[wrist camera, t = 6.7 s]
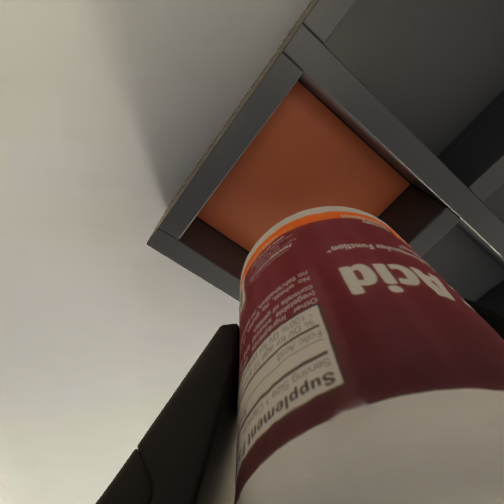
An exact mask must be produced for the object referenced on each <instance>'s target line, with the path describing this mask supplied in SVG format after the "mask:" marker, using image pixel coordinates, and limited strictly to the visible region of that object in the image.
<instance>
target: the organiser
mask: <svg viewBox="0 0 504 504" xmlns="http://www.w3.org/2000/svg"><path fill="white" fill-rule="evenodd" d="M325 206H343V207H349V208H354V209H358V210H361V211H364V212H367V213H369V214H371V215H373V216H375V217H377V218H378V219H380V220H382V221H383V222H385V223H386V224H387V225H388V226H389V227H390V228H392V229H393V230H394V231H395V232H396V233H397V234H398V235H399V236H400V237H401V238H402V239H403V240H404V241H405V242H406V243H407V244H408V245H409V246H410V247H411V248H412V249H413V250H414V251H415V252H416V253H417V254H418V255H419V256H420V257H421V258H422V259H423V260H424V261H426V262H427V263H428V264H429V265H430V267H431V268H433V269H434V270H435V272H436V273H437V274H438V275H439V276H440V277H442V278H443V279H444V280H445V281H446V282H447V283H448V285H449V286H451V287H452V288H453V289H454V290H455V291H456V292H457V293H459V295H460V296H461V297H463V298H466V299H468V300H471V301H473V302H475V303H478V304H480V305H482V306H485V307H487V308H489V309H492V310H494V311H496V312H499V313H501V314H503V315H504V0H312V1H311V3H310V4H309V6H308V7H307V9H306V10H305V11H304V13H303V14H302V16H301V17H300V19H299V20H298V21H297V23H296V24H295V26H294V27H293V29H292V30H291V31H290V33H289V34H288V36H287V37H286V39H285V40H284V42H283V43H282V44H281V46H280V47H279V49H278V50H277V52H276V53H275V54H274V56H273V57H272V59H271V60H270V62H269V63H268V65H267V66H266V67H265V69H264V70H263V72H262V73H261V75H260V76H259V77H258V79H257V80H256V82H255V83H254V85H253V86H252V88H251V89H250V90H249V92H248V93H247V95H246V96H245V98H244V99H243V100H242V102H241V103H240V105H239V106H238V108H237V109H236V110H235V112H234V113H233V115H232V116H231V118H230V119H229V121H228V122H227V123H226V125H225V126H224V128H223V129H222V131H221V132H220V133H219V135H218V136H217V138H216V139H215V141H214V142H213V144H212V145H211V146H210V148H209V149H208V151H207V152H206V154H205V155H204V156H203V158H202V159H201V161H200V162H199V164H198V165H197V167H196V168H195V169H194V171H193V172H192V174H191V175H190V177H189V178H188V179H187V181H186V182H185V184H184V185H183V187H182V188H181V189H180V191H179V192H178V194H177V195H176V197H175V198H174V200H173V201H172V202H171V204H170V205H169V207H168V208H167V210H166V211H165V213H164V215H163V216H162V218H161V220H160V221H159V223H158V225H157V227H156V228H155V230H154V232H153V234H152V235H151V237H150V239H149V240H148V242H147V245H148V246H150V247H152V248H153V249H155V250H157V251H158V252H160V253H162V254H163V255H165V256H166V257H168V258H170V259H171V260H173V261H175V262H176V263H178V264H179V265H181V266H183V267H184V268H186V269H188V270H189V271H191V272H192V273H194V274H196V275H197V276H199V277H201V278H202V279H204V280H206V281H207V282H209V283H210V284H212V285H214V286H215V287H217V288H219V289H220V290H222V291H223V292H225V293H227V294H228V295H230V296H232V297H233V298H235V299H236V300H238V301H240V281H241V275H242V270H243V267H244V263H245V261H246V258H247V256H248V254H249V253H250V251H251V250H252V248H253V247H254V245H255V244H256V243H257V242H258V240H259V239H260V238H261V237H262V236H263V235H264V234H265V233H266V232H267V231H268V230H269V229H271V228H272V227H273V226H275V225H276V224H277V223H279V222H280V221H282V220H284V219H285V218H287V217H289V216H292V215H294V214H296V213H298V212H301V211H304V210H307V209H312V208H317V207H325Z"/></svg>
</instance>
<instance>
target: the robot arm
mask: <svg viewBox="0 0 504 504" xmlns="http://www.w3.org/2000/svg"><path fill="white" fill-rule="evenodd" d="M462 298H463V297H462ZM463 299H464V300H465V302H467V303H468V304H469V305H470V306H471V307H472V308H473V309H474V310H475V311H476V313H477V314H479V315H480V316H481V317H482V318H483V319H484V320H485V321H486V322H487V323H488V324H489V325H490V326H491V327H492V328H493V329H494V330H495V331H496V332H497V333H498V334H499V335H500V337H501V338H502V339H503V340H504V315H503V314H501V313H499V312H496V311H494V310H492V309H489V308H487V307H485V306H482V305H480V304H478V303H475V302H473V301H471V300H468V299H466V298H463ZM239 331H240V329H239V326H238V325H237V324H229V325H222V326H221V327H220V328H219V329H218V331H217V332H216V333H215V335H214V336H213V338H212V339H211V341H210V342H209V344H208V345H207V346H206V348H205V349H204V351H203V352H202V354H201V355H200V356H199V358H198V359H197V361H196V362H195V364H194V365H193V367H192V368H191V369H190V371H189V372H188V374H187V375H186V377H185V378H184V380H183V381H182V382H181V384H180V385H179V387H178V388H177V390H176V391H175V392H174V394H173V395H172V397H171V398H170V400H169V401H168V403H167V404H166V405H165V407H164V408H163V410H162V411H161V413H160V414H159V416H158V417H157V418H156V420H155V421H154V423H153V424H152V426H151V427H150V428H149V430H148V431H147V433H146V434H145V436H144V437H143V439H142V440H141V441H140V443H139V444H138V449H135V450H134V451H133V453H132V454H131V456H130V457H129V458H128V460H127V461H126V463H125V464H124V466H123V467H122V468H121V470H120V471H119V473H118V474H117V475H116V477H115V478H114V479H113V481H112V482H111V484H110V485H109V486H108V488H107V489H106V490H105V492H104V493H103V495H102V496H101V497H100V499H99V500H98V501H97V502H96V504H234V500H235V470H236V444H237V399H238V379H239Z"/></svg>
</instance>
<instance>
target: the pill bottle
mask: <svg viewBox="0 0 504 504" xmlns="http://www.w3.org/2000/svg"><path fill="white" fill-rule="evenodd" d="M239 311H240V321H239V329H240V331H239V379H238V399H237V444H236V470H235V500H234V504H504V340H503V339H502V338H501V337H500V335H499V334H498V333H497V332H496V331H495V330H494V329H493V328H492V327H491V326H490V325H489V324H488V323H487V322H486V321H485V320H484V319H483V318H482V317H481V316H480V315H479V314H477V313H476V311H475V310H474V309H473V308H472V307H471V306H470V305H469V304H468V303H467V302H465V300H464V299H463V298H462V297H461V296H460V295H459V293H457V292H456V291H455V290H454V289H453V288H452V287H451V286H449V285H448V283H447V282H446V281H445V280H444V279H443V278H442V277H440V276H439V275H438V274H437V273H436V272H435V270H434V269H433V268H431V267H430V265H429V264H428V263H427V262H426V261H424V260H423V259H422V258H421V257H420V256H419V255H418V254H417V253H416V252H415V251H414V250H413V249H412V248H411V247H410V246H409V245H408V244H407V243H406V242H405V241H404V240H403V239H402V238H401V237H400V236H399V235H398V234H397V233H396V232H395V231H394V230H393V229H392V228H390V227H389V226H388V225H387V224H386V223H385V222H383V221H382V220H380V219H378V218H377V217H375V216H373V215H371V214H369V213H367V212H364V211H361V210H358V209H354V208H349V207H343V206H325V207H317V208H312V209H307V210H304V211H301V212H298V213H296V214H294V215H292V216H289V217H287V218H285V219H284V220H282V221H280V222H279V223H277V224H276V225H275V226H273V227H272V228H271V229H269V230H268V231H267V232H266V233H265V234H264V235H263V236H262V237H261V238H260V239H259V240H258V242H257V243H256V244H255V245H254V247H253V248H252V250H251V251H250V253H249V254H248V256H247V258H246V261H245V263H244V267H243V270H242V275H241V281H240V308H239Z"/></svg>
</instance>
